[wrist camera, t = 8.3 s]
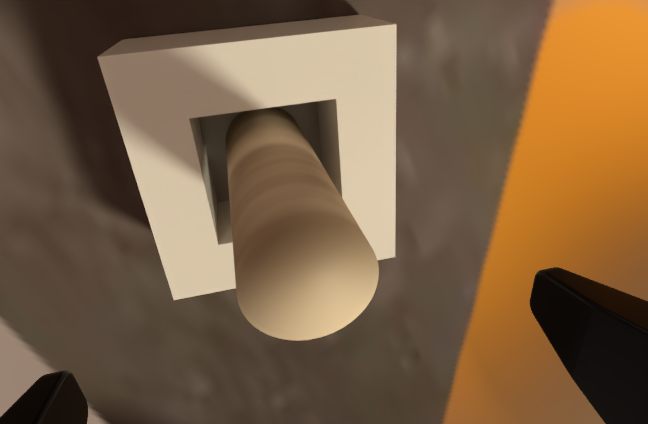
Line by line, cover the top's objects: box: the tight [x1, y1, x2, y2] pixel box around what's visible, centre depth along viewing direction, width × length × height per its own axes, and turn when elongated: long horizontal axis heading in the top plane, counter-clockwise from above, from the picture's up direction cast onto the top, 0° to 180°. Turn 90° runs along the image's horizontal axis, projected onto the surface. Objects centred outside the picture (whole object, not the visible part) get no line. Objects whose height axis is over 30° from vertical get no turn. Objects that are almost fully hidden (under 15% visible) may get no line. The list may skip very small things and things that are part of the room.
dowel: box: [226, 107, 379, 340], centre depth 14 cm, size 3×3×10 cm
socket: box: [97, 15, 396, 300], centre depth 17 cm, size 9×9×4 cm
